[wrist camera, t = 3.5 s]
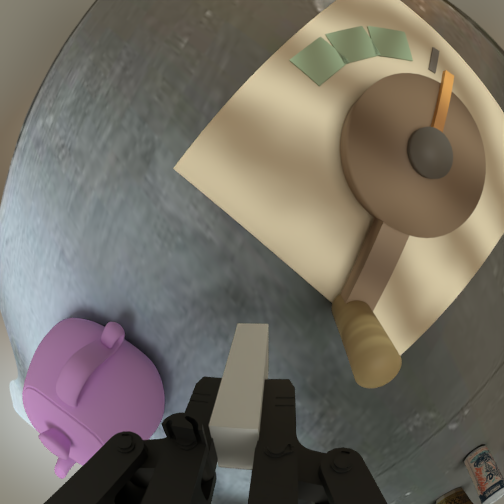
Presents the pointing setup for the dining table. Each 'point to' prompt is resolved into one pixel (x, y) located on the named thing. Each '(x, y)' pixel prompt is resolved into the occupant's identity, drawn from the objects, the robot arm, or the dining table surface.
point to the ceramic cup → (454, 497)
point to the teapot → (90, 390)
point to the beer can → (485, 475)
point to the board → (329, 161)
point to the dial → (402, 196)
